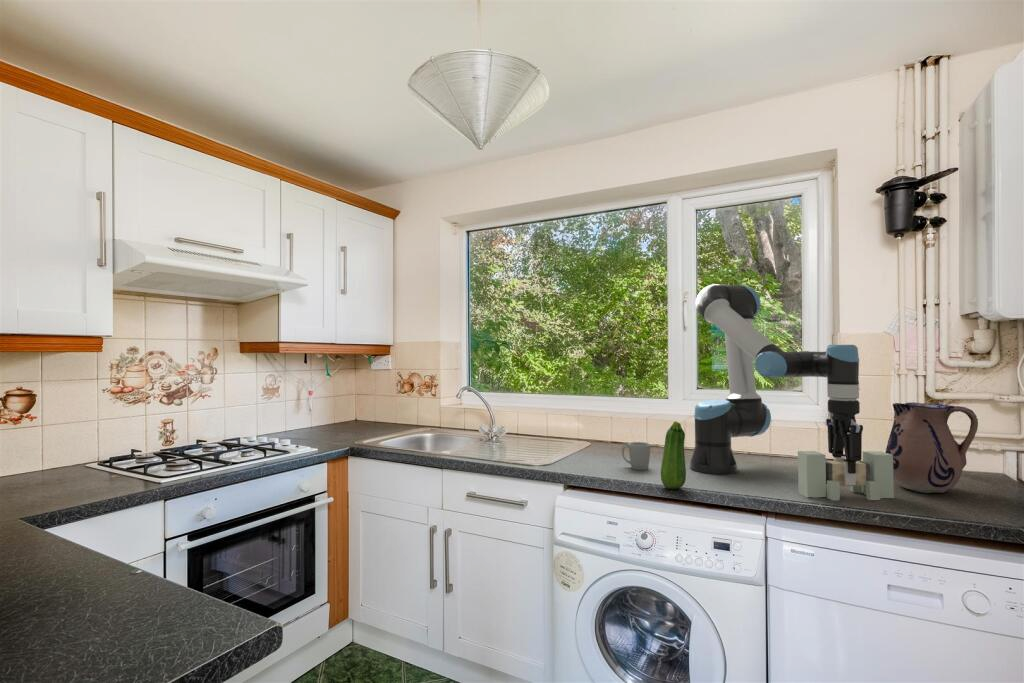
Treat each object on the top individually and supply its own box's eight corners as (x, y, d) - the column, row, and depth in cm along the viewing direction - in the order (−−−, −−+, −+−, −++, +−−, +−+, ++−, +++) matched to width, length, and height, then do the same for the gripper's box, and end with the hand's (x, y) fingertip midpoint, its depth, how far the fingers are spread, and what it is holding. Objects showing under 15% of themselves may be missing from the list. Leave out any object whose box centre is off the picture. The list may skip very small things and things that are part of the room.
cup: (647, 472, 172) (647, 446, 172) (619, 468, 177) (618, 444, 177) (653, 467, 178) (653, 443, 179) (625, 464, 184) (625, 440, 184)
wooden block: (828, 485, 141) (828, 463, 141) (821, 481, 145) (820, 460, 145) (869, 485, 141) (869, 463, 141) (860, 481, 145) (860, 460, 145)
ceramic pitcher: (878, 479, 160) (876, 400, 161) (962, 486, 152) (960, 402, 153) (895, 494, 144) (893, 405, 145) (991, 502, 136) (989, 408, 137)
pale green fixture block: (876, 491, 147) (876, 450, 147) (898, 501, 138) (898, 456, 138) (850, 491, 147) (849, 449, 147) (870, 500, 138) (869, 456, 138)
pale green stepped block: (811, 500, 139) (810, 456, 139) (794, 490, 148) (794, 449, 148) (839, 500, 139) (839, 456, 139) (821, 491, 148) (820, 449, 148)
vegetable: (655, 486, 154) (655, 420, 154) (676, 484, 156) (675, 419, 156) (669, 492, 147) (668, 423, 147) (691, 490, 149) (690, 422, 149)
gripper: (877, 402, 135) (878, 491, 134) (839, 396, 152) (840, 475, 151) (847, 402, 135) (849, 490, 135) (813, 396, 152) (814, 475, 152)
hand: (844, 482), depth 143 cm, fingers closed on wooden block, 4 cm apart
